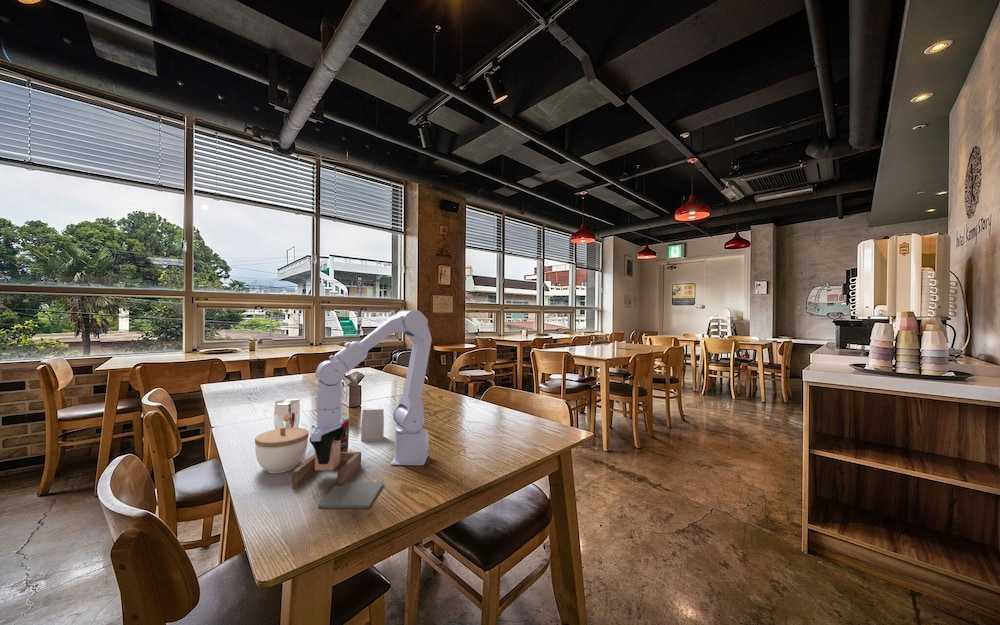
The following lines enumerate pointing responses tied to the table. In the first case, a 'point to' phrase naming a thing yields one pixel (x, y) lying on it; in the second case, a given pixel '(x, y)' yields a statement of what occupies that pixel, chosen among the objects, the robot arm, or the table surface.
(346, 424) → the canned food
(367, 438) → the grey rectangular block
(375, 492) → the coaster
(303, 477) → the brown piece
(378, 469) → the table surface
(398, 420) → the robot arm
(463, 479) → the table surface
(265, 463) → the lidded bowl
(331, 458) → the block
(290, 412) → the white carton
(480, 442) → the table surface
